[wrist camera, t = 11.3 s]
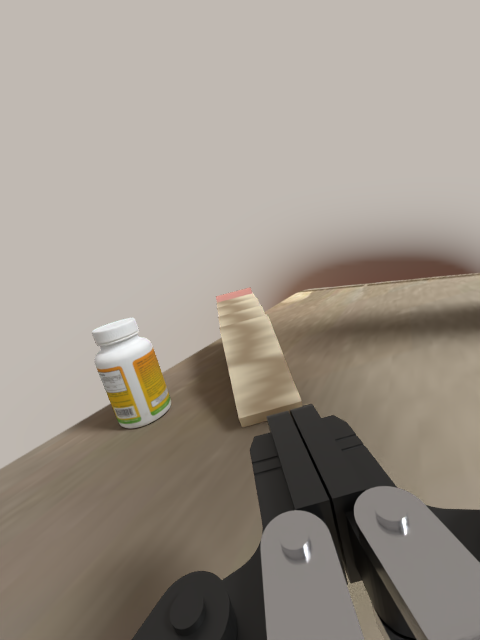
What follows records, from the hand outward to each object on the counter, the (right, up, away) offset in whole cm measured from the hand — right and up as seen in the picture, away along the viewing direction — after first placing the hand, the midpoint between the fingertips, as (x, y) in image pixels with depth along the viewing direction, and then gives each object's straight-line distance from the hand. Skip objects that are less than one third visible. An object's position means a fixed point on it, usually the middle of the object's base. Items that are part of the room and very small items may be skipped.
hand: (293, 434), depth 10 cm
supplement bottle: (-11, -6, +21) cm, 25 cm away
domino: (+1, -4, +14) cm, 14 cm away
